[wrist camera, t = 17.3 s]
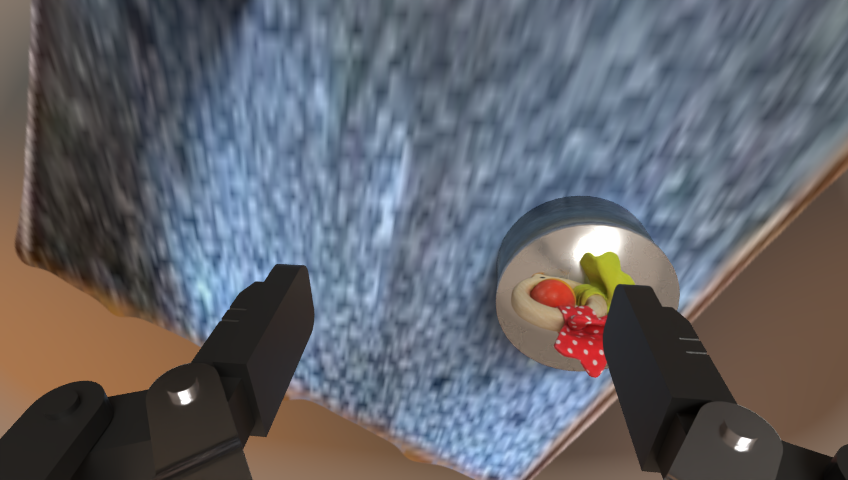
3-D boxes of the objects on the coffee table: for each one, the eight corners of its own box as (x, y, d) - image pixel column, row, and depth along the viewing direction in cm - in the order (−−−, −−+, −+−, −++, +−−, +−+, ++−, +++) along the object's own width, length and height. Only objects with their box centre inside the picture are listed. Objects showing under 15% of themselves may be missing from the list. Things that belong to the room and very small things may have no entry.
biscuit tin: (495, 324, 52) (496, 368, 46) (494, 195, 45) (495, 227, 39) (643, 326, 50) (664, 373, 43) (665, 190, 43) (695, 223, 36)
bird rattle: (534, 295, 44) (639, 320, 39) (485, 370, 35) (611, 412, 31) (536, 235, 41) (649, 254, 36) (483, 301, 33) (621, 336, 28)
